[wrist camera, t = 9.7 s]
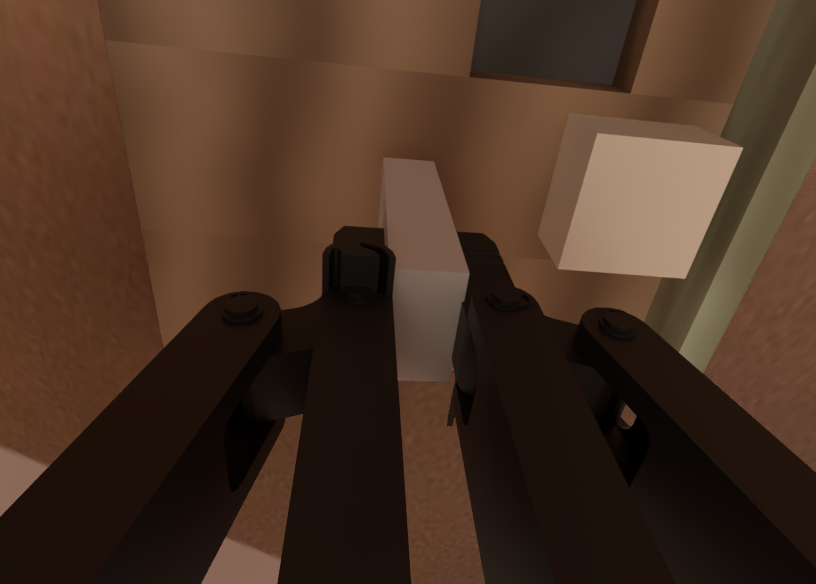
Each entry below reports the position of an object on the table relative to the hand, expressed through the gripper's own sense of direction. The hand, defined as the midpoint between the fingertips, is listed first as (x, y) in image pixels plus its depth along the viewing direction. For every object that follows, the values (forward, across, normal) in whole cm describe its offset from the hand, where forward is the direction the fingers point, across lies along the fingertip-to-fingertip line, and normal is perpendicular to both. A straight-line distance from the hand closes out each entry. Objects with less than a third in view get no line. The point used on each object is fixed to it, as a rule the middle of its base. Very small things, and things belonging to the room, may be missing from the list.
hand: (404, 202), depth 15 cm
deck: (+7, +2, 0) cm, 7 cm away
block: (+5, +9, 0) cm, 10 cm away
